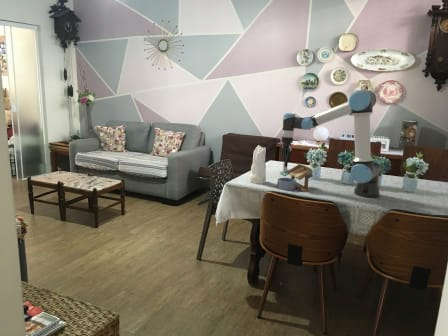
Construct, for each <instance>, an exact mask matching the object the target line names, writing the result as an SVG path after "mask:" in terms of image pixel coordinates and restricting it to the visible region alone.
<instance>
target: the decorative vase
mask: <svg viewBox="0 0 448 336" xmlns="http://www.w3.org/2000/svg"><path fill="white" fill-rule="evenodd" d="M266 151H267V149H266V147H263V146H262V145H259V144H258V145H257V146H256V147H255V149H254V150H253V153H252V154H253V157H252V164H251V167H250V174H249V182H250V183H251V182H252V184H256V183H257V184H259V185H264V184H265V183H266V181H267V176H266V170H267V165H266V153H267V152H266Z"/></svg>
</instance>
